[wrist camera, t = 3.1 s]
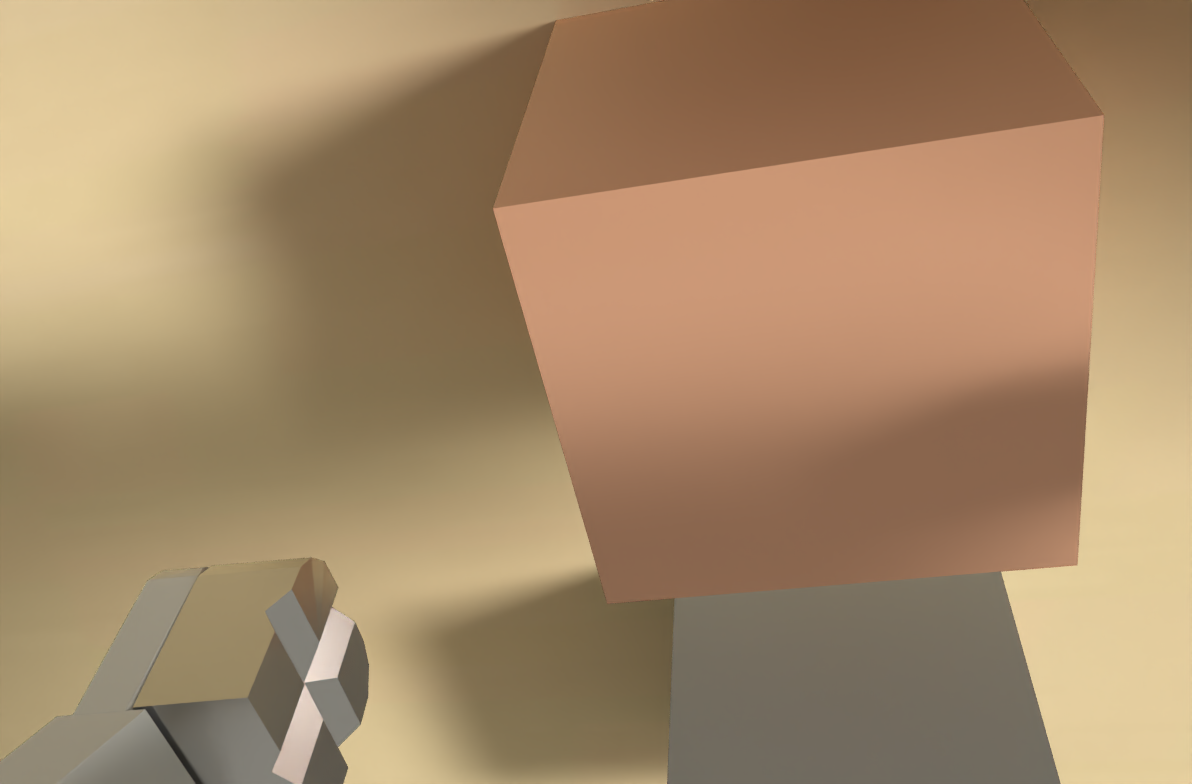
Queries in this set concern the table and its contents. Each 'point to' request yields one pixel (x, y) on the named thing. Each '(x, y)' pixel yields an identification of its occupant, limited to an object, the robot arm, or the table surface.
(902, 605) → the slate block
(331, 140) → the table surface
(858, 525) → the terracotta block
